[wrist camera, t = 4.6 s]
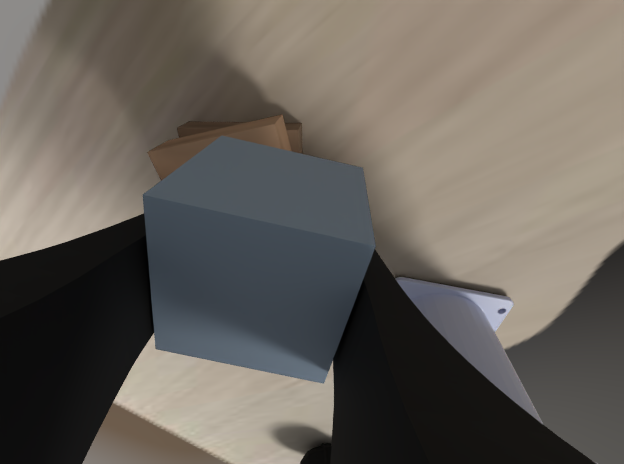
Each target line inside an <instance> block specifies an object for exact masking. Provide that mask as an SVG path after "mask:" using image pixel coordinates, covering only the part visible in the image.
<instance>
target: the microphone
mask: <svg viewBox="0 0 624 464" xmlns="http://www.w3.org/2000/svg"><path fill="white" fill-rule="evenodd" d="M330 460H331V444H324V443H323V444H322V445H321V447H317V448H313V449H311V450H309V451H307V453H306V454H305V456H304V457H303V459H302V460H301V462H300V464H330Z"/></svg>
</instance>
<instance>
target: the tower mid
mask: <svg viewBox="0 0 624 464" xmlns="http://www.w3.org/2000/svg"><path fill="white" fill-rule="evenodd" d="M220 136H226V137H231V138H235V139H240V140H244V141H248V142H253V143H257V144H261V145H266V146H270V147H274V148H279V149H283V150H288V151H292V150H291V146H290V142H289V139H288V135H287V131H286V127H285V123H284V119H283V115H278V116H273V117H269V118H265V119H260V120H256V121H251V122H247V123H243V124H238V125H234V126H229V127H225V128H221V129H216V130H212V131H207V132H203V133H199V134H194V135H190V136H185V137H181V138H176V139H172V140H168V141H166V142H164V143H163V144H161V145H159V146H157V147H156V148H154V149H152V150H150V151H149V152H147V153H148V155H149V157H150V159H151V161H152V163H153V165H154V167H155V169H156V171H157V173H158V175H159V177H160V179H161V181H162V180H163V179H164V178H166V177H167V176H168V175H170V174H171V173H172V172H174V171H175V170H176V169H178V168H179V167H180V166H182V165H183V164H184V163H186V162H187V161H188V160H190V159H191V158H192V157H194V156H195V155H196V154H198V153H199V152H200V151H202V150H203V149H204V148H206V147H207V146H208V145H210V144H211V143H212V142H214V141H215V140H216V139H218V138H219V137H220Z"/></svg>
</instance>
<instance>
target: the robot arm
mask: <svg viewBox="0 0 624 464" xmlns="http://www.w3.org/2000/svg"><path fill="white" fill-rule="evenodd" d="M512 307H513V301H512V300H511V298H510V297H507V296H502V295H496V294H491V293H486V292H480V291H475V290H470V289H464V288H459V287H453V286H448V285H443V284H437V283H432V282H427V281H421V280H416V279H410V278H405V277H397V278H394V277H393V275H392V274H391V272H390V271H389V270H388V268H387V267H386V265H385V264H384V262H383V261H382V259H381V258H380V256H379V255H378V253H377V252H376V250H375V249H374V252H373V255H372V257H371V260H370V263H369V265H368V268H367V271H366V273H365V276H364V279H363V281H362V284H361V286H360V289H359V292H358V294H357V297H356V300H355V302H354V305H353V308H352V310H351V313H350V316H349V318H348V321H347V324H346V326H345V329H344V332H343V334H342V337H341V340H340V342H339V345H338V347H337V350H336V353H335V355H334V358H333V371H334V413H333V430H332V446H331V460H330V464H597V463H596V462H594V461H592V460H590V459H589V458H588V457H586V456H585V455H583V454H582V453H581V452H579V451H578V450H576V449H575V448H574V447H572V446H571V445H569V444H568V443H567V442H565V441H564V440H562V439H561V438H560V437H558V436H557V435H556V434H554V433H553V432H552V431H550V430H549V429H548V428H547V427H545V426H544V425H543V423H542V421H541V419H540V417H539V415H538V413H537V412H536V410H535V408H534V406H533V404H532V402H531V400H530V398H529V396H528V394H527V393H526V391H525V389H524V387H523V385H522V383H521V381H520V379H519V377H518V376H517V374H516V372H515V370H514V368H513V366H512V364H511V362H510V360H509V359H508V357H507V355H506V353H505V351H504V349H503V347H502V345H501V343H500V341H499V339H498V338H497V336H496V334H495V331H496V330H497V328H498V327H499V325H500V324H501V323H502V321H503V320H504V318H505V317H506V315H507V314H508V313H509V311H510V310H511V308H512ZM501 308H502V309H501ZM499 309H500V310H499ZM153 333H154V323H153V311H152V299H151V288H150V276H149V264H148V252H147V240H146V228H145V216H144V214H141V215H139V216H136V217H134V218H131V219H129V220H126V221H123V222H121V223H118V224H116V225H113V226H111V227H108V228H105V229H102V230H99V231H97V232H94V233H91V234H88V235H85V236H82V237H79V238H76V239H74V240H71V241H68V242H65V243H62V244H58V245H55V246H52V247H49V248H45V249H42V250H38V251H35V252H31V253H27V254H24V255H20V256H16V257H13V258H9V259H5V260H1V261H0V464H82V463H83V461H84V458H85V457H86V455H87V452H88V450H89V448H90V446H91V444H92V442H93V440H94V438H95V436H96V434H97V432H98V430H99V428H100V426H101V424H102V422H103V421H104V419H105V417H106V415H107V413H108V411H109V408H110V407H111V405H112V403H113V401H114V399H115V397H116V395H117V394H118V392H119V390H120V388H121V386H122V384H123V382H124V381H125V379H126V377H127V375H128V373H129V371H130V369H131V368H132V366H133V364H134V363H135V361H136V359H137V358H138V356H139V355H140V353H141V351H142V350H143V348H144V347H145V345H146V344H147V342H148V341H149V339H150V338H151V336H152V335H153Z"/></svg>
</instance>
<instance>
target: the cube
mask: <svg viewBox="0 0 624 464" xmlns="http://www.w3.org/2000/svg"><path fill="white" fill-rule="evenodd" d="M143 204H144V216H145V228H146V240H147V252H148V264H149V276H150V288H151V299H152V311H153V323H154V335H155V347H156V349H158V350H163V351H168V352H172V353H177V354H182V355H187V356H192V357H197V358H202V359H207V360H211V361H216V362H221V363H226V364H231V365H236V366H241V367H246V368H251V369H255V370H260V371H265V372H270V373H275V374H280V375H285V376H290V377H294V378H299V379H304V380H309V381H314V382H319V383H324V382H325V379H326V377H327V374H328V371H329V369H330V366H331V363H332V361H333V358H334V355H335V353H336V350H337V347H338V345H339V342H340V340H341V337H342V334H343V332H344V329H345V326H346V324H347V321H348V318H349V316H350V313H351V310H352V308H353V305H354V302H355V300H356V297H357V294H358V292H359V289H360V286H361V284H362V281H363V279H364V276H365V273H366V271H367V268H368V265H369V263H370V260H371V257H372V255H373V252H374V249H375V247H376V245H375V239H374V233H373V227H372V221H371V214H370V208H369V202H368V196H367V190H366V184H365V178H364V172H363V168H362V167H357V166H353V165H349V164H344V163H340V162H336V161H331V160H327V159H322V158H318V157H314V156H309V155H305V154H301V153H296V152H292V151H288V150H283V149H279V148H274V147H270V146H266V145H261V144H257V143H253V142H248V141H244V140H240V139H235V138H231V137H226V136H220V137H219V138H218V139H216V140H215V141H214V142H212V143H211V144H210V145H208V146H207V147H206V148H204V149H203V150H202V151H200V152H199V153H198V154H196V155H195V156H194V157H192V158H191V159H190V160H188V161H187V162H186V163H184V164H183V165H182V166H180V167H179V168H178V169H176V170H175V171H174V172H172V173H171V174H170V175H168V176H167V177H166V178H164V179H163V180H162V181H160V182H159V183H158V184H156V185H155V186H154V187H152V188H151V189H150V190H148V191H147V192H146V193H144V194H143Z"/></svg>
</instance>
